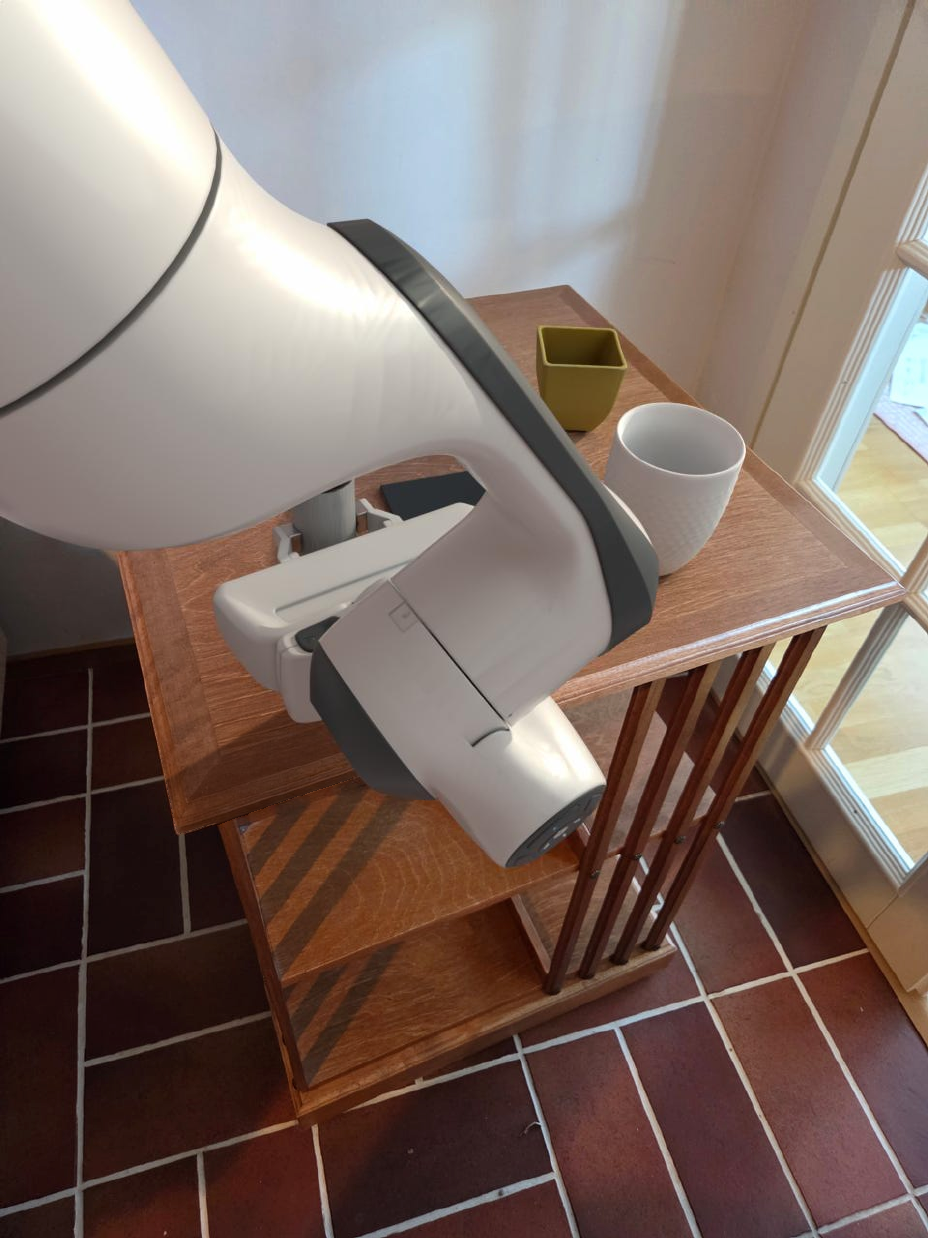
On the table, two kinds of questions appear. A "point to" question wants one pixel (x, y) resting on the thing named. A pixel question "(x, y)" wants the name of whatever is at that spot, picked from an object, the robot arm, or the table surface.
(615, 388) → the flower pot
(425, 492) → the slate mat
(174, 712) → the table surface
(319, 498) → the planter
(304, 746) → the table surface
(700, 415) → the mug
